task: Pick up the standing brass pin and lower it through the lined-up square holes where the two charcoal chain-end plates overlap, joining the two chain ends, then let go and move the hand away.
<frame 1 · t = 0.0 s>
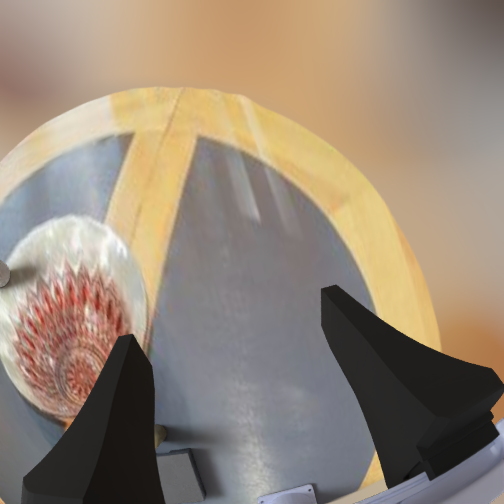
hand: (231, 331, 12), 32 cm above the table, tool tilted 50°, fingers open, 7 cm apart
pin: (158, 432, 39), on the table
link b: (134, 477, 36), on the table
donut: (2, 280, 44), on the table
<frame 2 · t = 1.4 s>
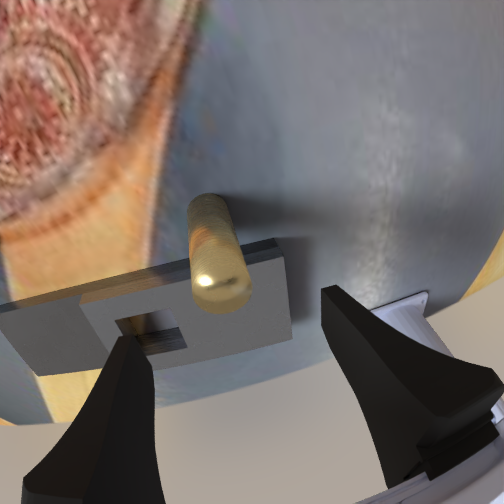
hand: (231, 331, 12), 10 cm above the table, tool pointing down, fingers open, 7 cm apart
pin: (207, 212, 20), on the table
link b: (153, 312, 24), on the table
link a: (153, 312, 24), on the table
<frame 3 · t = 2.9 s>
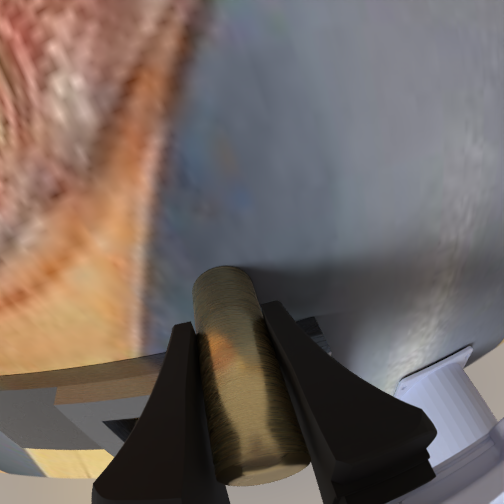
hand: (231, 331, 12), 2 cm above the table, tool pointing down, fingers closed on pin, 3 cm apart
pin: (222, 291, 14), on the table, touching gripper
link b: (150, 400, 17), on the table
link a: (150, 400, 17), on the table
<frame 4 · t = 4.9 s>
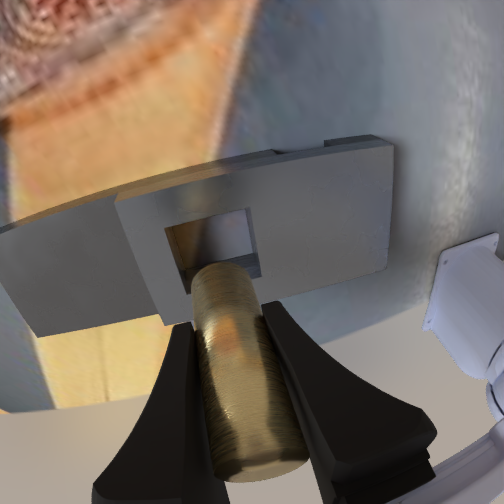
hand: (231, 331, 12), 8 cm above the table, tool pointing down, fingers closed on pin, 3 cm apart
pin: (221, 287, 14), point 5 cm above the table, touching gripper
link b: (211, 231, 18), on the table
link a: (211, 231, 18), on the table
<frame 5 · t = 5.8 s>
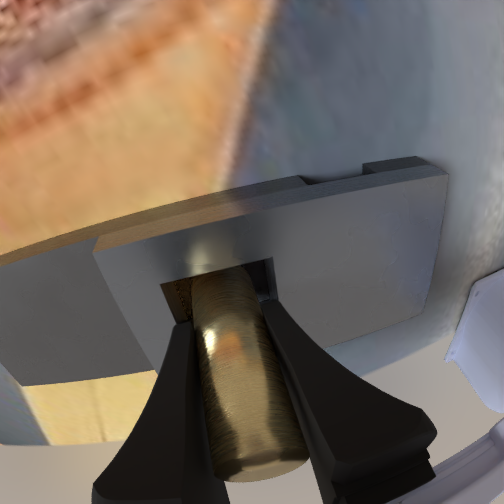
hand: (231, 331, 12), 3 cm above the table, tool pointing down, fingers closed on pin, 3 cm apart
pin: (221, 287, 14), point 1 cm above the table, touching gripper
link b: (219, 276, 15), on the table
link a: (219, 276, 15), on the table
when the fingers open (3 cm above the table, at t = 6.8 s): pin stays where it is, on the table.
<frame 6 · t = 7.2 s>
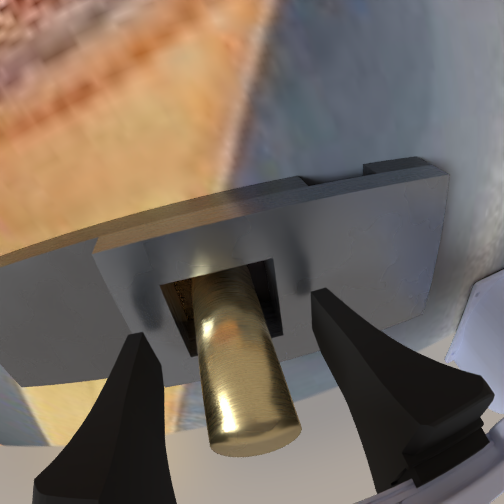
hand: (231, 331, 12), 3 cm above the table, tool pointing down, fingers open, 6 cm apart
pin: (219, 274, 15), on the table
link b: (220, 277, 15), on the table
link a: (220, 277, 15), on the table
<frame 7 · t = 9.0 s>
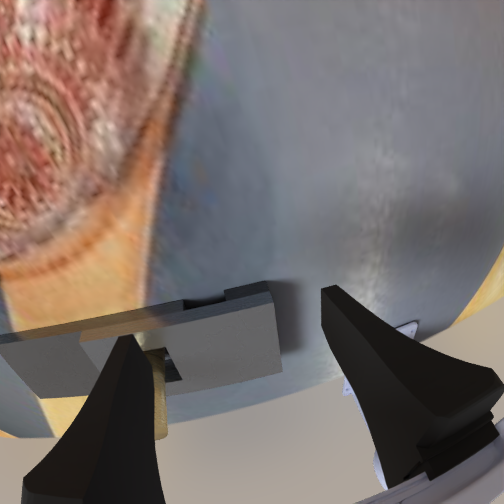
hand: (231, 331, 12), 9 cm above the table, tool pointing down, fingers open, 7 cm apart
pin: (148, 344, 24), on the table
link b: (149, 346, 24), on the table
link a: (149, 346, 24), on the table
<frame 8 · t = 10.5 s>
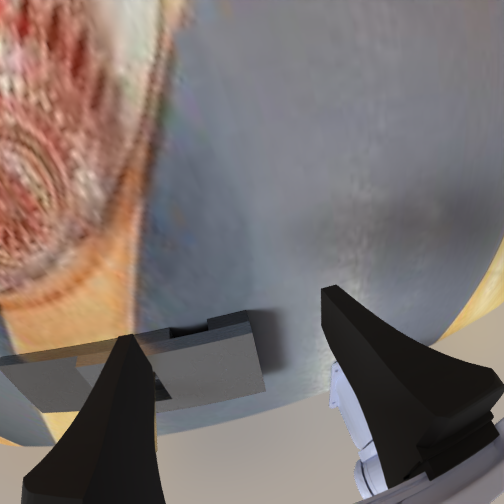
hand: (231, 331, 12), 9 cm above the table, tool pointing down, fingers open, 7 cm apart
link b: (141, 367, 25), on the table
link a: (141, 367, 25), on the table
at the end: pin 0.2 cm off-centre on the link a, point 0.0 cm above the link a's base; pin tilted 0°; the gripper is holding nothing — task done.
